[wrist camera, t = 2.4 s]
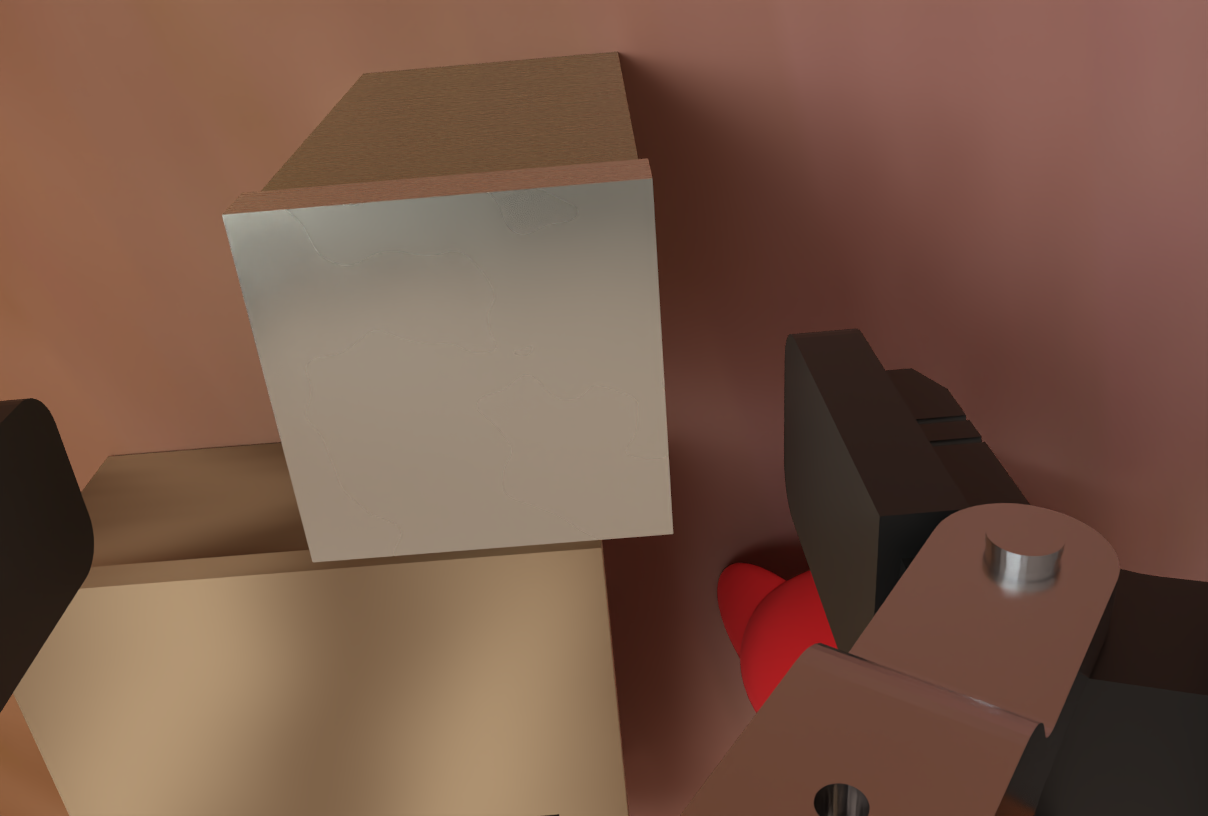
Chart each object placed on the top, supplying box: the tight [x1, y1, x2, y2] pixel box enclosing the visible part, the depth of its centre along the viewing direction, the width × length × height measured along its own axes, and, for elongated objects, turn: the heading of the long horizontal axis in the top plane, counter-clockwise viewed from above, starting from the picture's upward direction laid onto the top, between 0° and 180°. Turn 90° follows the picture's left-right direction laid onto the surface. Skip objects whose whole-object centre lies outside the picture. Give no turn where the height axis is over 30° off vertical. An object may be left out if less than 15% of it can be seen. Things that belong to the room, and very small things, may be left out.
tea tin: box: [222, 52, 673, 562], centre depth 16 cm, size 5×5×8 cm
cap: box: [717, 563, 838, 713], centre depth 22 cm, size 8×6×6 cm
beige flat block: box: [13, 443, 629, 816], centre depth 22 cm, size 11×11×5 cm
